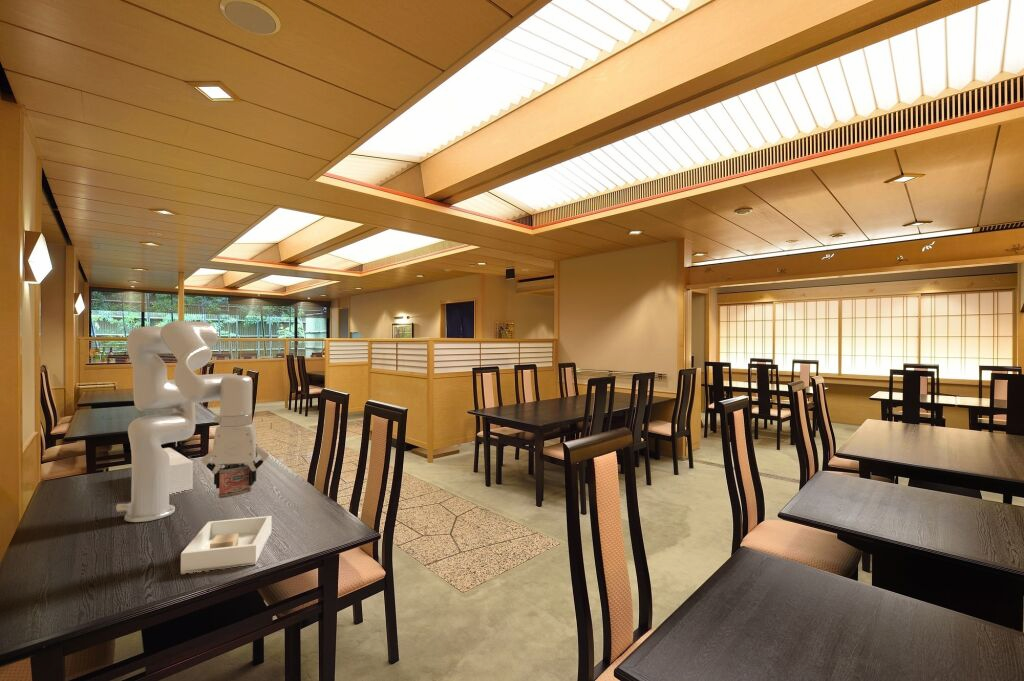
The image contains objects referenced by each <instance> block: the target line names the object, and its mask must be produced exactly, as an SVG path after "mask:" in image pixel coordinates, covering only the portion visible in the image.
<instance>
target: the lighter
mask: <svg viewBox="0 0 1024 681" xmlns="http://www.w3.org/2000/svg"><path fill="white" fill-rule="evenodd" d="M223 466H224V467H222V468H220V469H219V473H220V479H219V488H218V489H219V490H218V498H219V499H227V498H232V497H236V496H240V495H244V494H248V493H251V492H252V486H249V471H250V467H249V466H248V464H247V463H244V464H229V465H223Z"/></svg>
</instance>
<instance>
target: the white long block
mask: <svg viewBox="0 0 1024 681" xmlns="http://www.w3.org/2000/svg"><path fill="white" fill-rule="evenodd" d="M162 448H163V447H162ZM163 449H164V450H165V451H166V452H167V453H168V455H169V458H170V478H169V494H170V495H173V494H172V493H175V494H177V493H176V492H180V493H182V492H181V491H184V490H189V489H193V488H194V481H193V480H194V461H193V460H191V459H190V458H187V457H186V456H184V455H183V454H181V453H180V452H178V451H176V450H175V449H173V448H172V447H164V448H163Z"/></svg>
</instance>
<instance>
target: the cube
mask: <svg viewBox="0 0 1024 681" xmlns="http://www.w3.org/2000/svg"><path fill="white" fill-rule="evenodd" d="M231 546H238V533H237V534H227V535H217V536H216V537H215V538H214V539H213V541H212V542H211V543H210V549H213V548H222V547H231Z"/></svg>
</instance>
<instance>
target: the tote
mask: <svg viewBox="0 0 1024 681" xmlns="http://www.w3.org/2000/svg"><path fill="white" fill-rule="evenodd" d="M272 517H273V516H272V515H266V516H256V517H255V516H254V517H245V518H244V517H243V518H236V519H235V518H234V519H223V520H221V519H220V520H212V521H210V520H209V521H207V522H206V524H205V525H204V526H203V527H202V528H201V529H200V531H199V532H198V533H197V534H196V535H195V537H194V538H193V539H192V540H191V541H190V542H189V543H188V545H187V546H186V547H185V548H184V550H182V552H181V553H180V575H186V573H189V574H196V573H195V572H197V573H203V572H202V571H205V572H210V571H209V570H214V569H219V568H227V567H233V566H241V565H249V564H256V562H257V560H258V558H259V556H260V554H261V555H262V553H263V551H264V549H265V547H266V545H267V543H268V541H269V539H270V537H271V535H272V527H273V525H272V523H273V522H272V521H273V520H272V519H273V518H272ZM237 533H238V546H231V547H222V548H213V549H210V543H211V542H212V541H213V539H214V538H215V537H216V536H217V535H227V534H237ZM270 534H271V535H270ZM269 536H270V537H269ZM268 538H269V539H268ZM267 540H268V541H267ZM266 542H267V543H266ZM265 544H266V545H265ZM264 546H265V547H264ZM263 548H264V549H263ZM262 550H263V551H262ZM261 552H262V553H261ZM260 557H261V556H260ZM259 559H260V558H259ZM258 561H259V560H258ZM257 563H258V562H257ZM256 565H257V564H256ZM214 571H215V570H214ZM193 572H194V573H193Z"/></svg>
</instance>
